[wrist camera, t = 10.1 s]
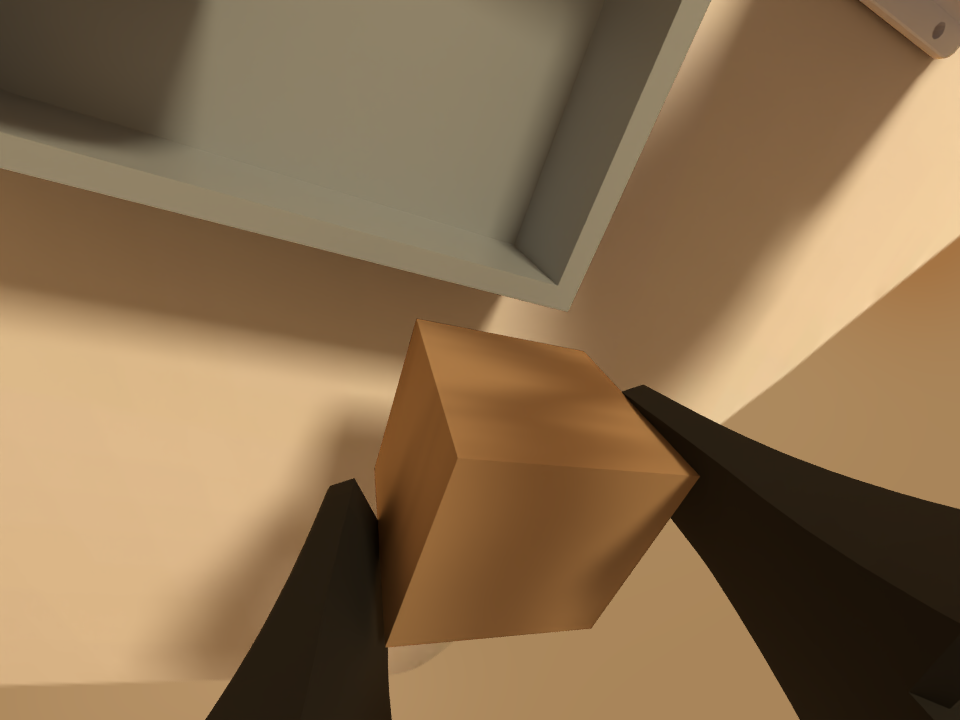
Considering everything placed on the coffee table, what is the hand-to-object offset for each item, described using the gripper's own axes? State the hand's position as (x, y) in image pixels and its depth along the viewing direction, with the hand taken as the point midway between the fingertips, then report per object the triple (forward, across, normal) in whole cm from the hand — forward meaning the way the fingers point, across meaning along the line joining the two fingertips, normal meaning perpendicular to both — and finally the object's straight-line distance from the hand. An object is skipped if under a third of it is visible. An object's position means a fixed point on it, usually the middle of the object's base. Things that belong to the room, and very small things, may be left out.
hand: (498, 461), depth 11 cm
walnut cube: (+2, 0, 0) cm, 2 cm away
